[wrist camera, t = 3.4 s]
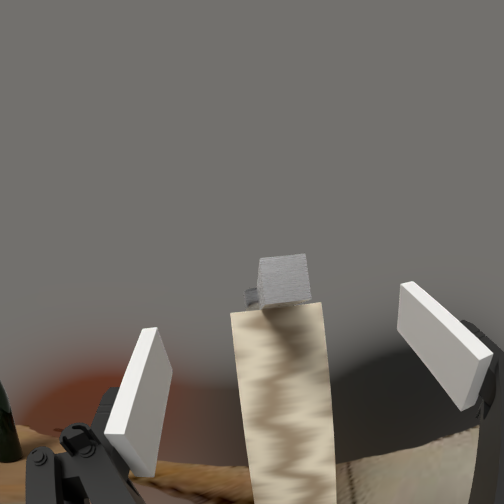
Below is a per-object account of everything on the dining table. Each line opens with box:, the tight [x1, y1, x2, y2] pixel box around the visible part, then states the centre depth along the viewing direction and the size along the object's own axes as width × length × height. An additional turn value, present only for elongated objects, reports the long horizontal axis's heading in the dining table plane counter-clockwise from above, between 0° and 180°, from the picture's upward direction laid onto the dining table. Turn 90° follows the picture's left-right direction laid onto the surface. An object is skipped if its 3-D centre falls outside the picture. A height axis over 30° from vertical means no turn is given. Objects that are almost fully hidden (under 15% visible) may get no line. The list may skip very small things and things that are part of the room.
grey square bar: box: [244, 254, 311, 311], centre depth 33 cm, size 6×25×5 cm, turn 0°
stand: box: [230, 302, 337, 504], centre depth 35 cm, size 9×16×34 cm, turn 0°
